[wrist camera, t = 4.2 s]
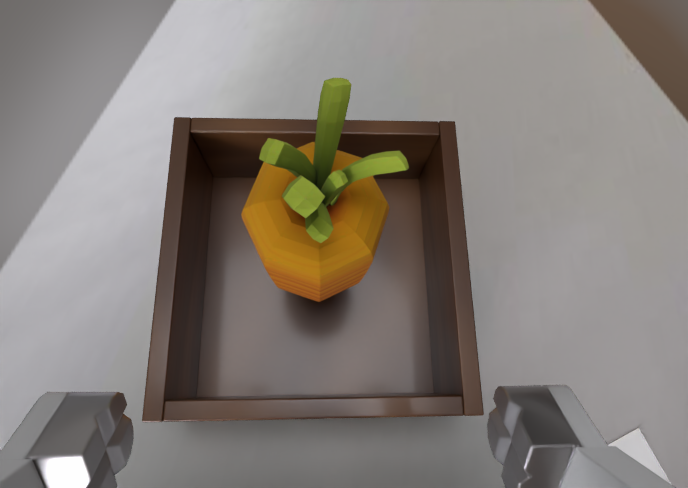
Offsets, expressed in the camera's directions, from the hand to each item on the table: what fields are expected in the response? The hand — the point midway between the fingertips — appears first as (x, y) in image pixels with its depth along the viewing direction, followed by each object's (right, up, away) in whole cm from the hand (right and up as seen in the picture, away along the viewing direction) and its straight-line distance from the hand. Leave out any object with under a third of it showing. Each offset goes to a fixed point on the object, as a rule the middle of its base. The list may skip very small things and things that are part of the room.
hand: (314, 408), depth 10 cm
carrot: (-1, +2, +15) cm, 15 cm away
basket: (-1, +1, +16) cm, 16 cm away
